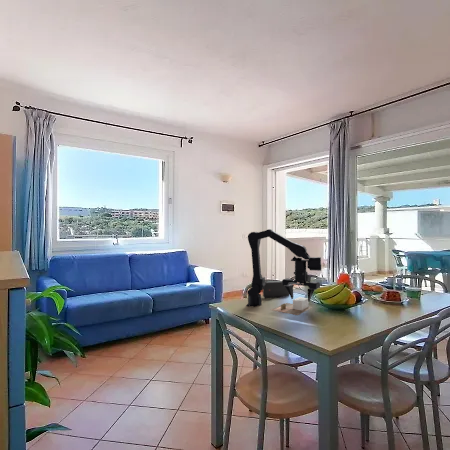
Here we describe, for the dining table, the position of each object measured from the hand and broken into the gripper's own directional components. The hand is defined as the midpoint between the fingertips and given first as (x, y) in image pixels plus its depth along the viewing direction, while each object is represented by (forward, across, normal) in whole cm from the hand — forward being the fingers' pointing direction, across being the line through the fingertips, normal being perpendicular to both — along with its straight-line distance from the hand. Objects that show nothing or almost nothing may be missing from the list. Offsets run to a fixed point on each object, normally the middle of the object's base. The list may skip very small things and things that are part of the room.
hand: (300, 300), depth 162 cm
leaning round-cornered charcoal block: (+5, +23, -16) cm, 28 cm away
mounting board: (+5, +3, +4) cm, 7 cm away
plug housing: (+4, 0, -1) cm, 4 cm away
